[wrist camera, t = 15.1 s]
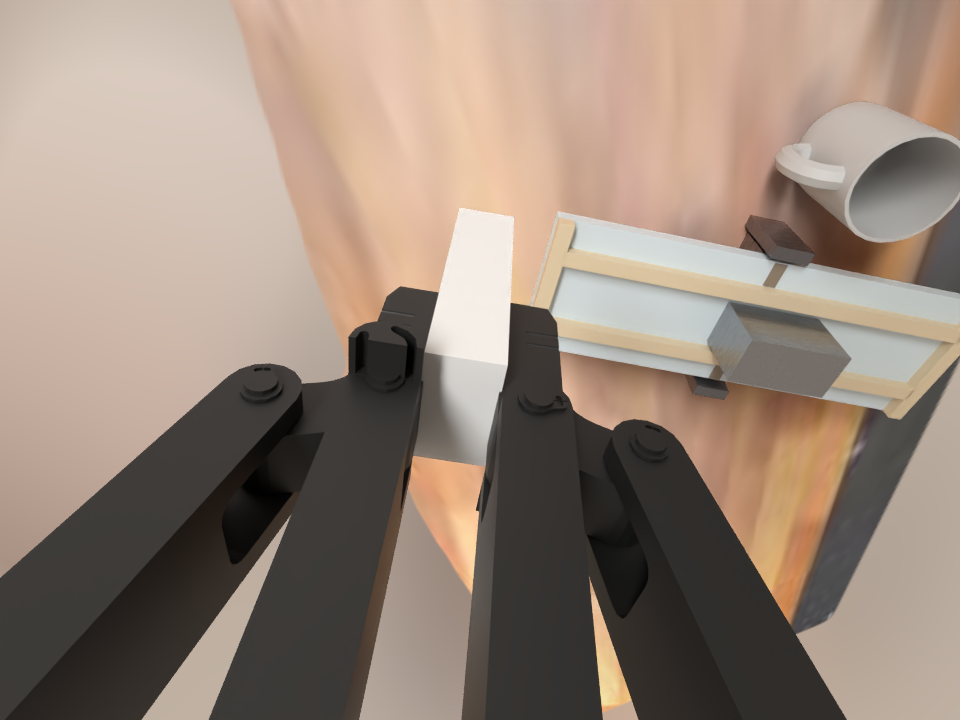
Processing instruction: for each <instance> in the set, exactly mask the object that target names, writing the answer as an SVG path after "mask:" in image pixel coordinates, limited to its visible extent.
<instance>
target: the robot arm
mask: <svg viewBox="0 0 960 720" xmlns="http://www.w3.org/2000/svg"><path fill="white" fill-rule="evenodd" d="M513 228H514V217H511V216H505V215H499V214H494V213H488V212H482V211H476V210H470V209H464V208H460V209H459V213H458V217H457V221H456V225H455V229H454V233H453V237H452V241H451V245H450V250H449V254H448V258H447V262H446V266H445V270H444V274H443V278H442V282H441V286H440V290H439V293H437V292H431V291H425V290H419V289H413V288H407V287H401V286H400V287H399V288H397V289H396V290H395V291H394V292H392V293H391V294H390V295H388V296H387V298H386V300H385V303H384V306H383V308H382V312H381V313H380V316H379V319H378V321H376V322H371V323H366V324H364V325H362V326H360V327H358V328H356V329H355V330H354V331H353V332H352V333H351V334H350V336H349V373H348V375H347V376H345V377H343V378H340V379H337V380H334V381H328V382H320V383H306V384H301V379H300V378H299V377H298V375H297V374H296V373H295V372H294V371H292V370H290V369H288V368H287V367H284V366H280V365H275V364H255V365H251V366H248V367H245V368H242V369H239V370H238V371H236V372H234V373H233V374H231V375H230V376H228V377H227V378H226V379H225V380H224V381H222V382H221V383H220V384H219V385H218V386H217V387H216V388H215V389H213V390H212V391H211V392H210V393H209V394H208V395H207V396H205V397H204V398H203V399H202V400H201V401H200V402H199V403H198V404H197V405H195V406H194V407H193V408H192V409H191V410H190V411H189V412H187V414H185V415H184V416H183V417H182V418H181V419H179V420H178V421H177V422H176V423H175V424H174V425H173V426H172V427H170V428H169V429H168V430H167V431H166V432H165V433H164V434H163V435H161V436H160V437H159V438H158V439H157V440H156V441H155V442H153V443H152V444H151V445H150V446H149V447H148V448H147V449H146V450H144V451H143V452H142V453H141V454H140V455H139V456H138V457H136V459H134V460H133V461H132V462H131V463H130V464H129V465H127V466H126V467H125V468H124V469H123V470H122V471H121V472H120V473H119V474H117V475H116V476H115V477H114V478H113V479H112V480H110V481H109V482H108V483H107V484H106V485H105V486H104V487H103V488H101V489H100V490H99V491H98V492H97V493H96V494H95V495H94V496H92V497H91V498H90V499H89V500H88V501H87V502H86V503H85V504H83V505H82V506H81V507H80V508H79V509H78V510H77V511H75V512H74V513H73V514H72V515H71V516H70V517H69V518H68V519H66V520H65V521H64V522H63V523H62V524H61V525H60V526H59V527H57V528H56V529H55V530H54V531H53V532H52V533H51V534H50V535H48V536H47V537H46V538H45V539H44V540H43V541H42V542H40V543H39V544H38V545H37V546H36V547H35V548H34V549H33V550H31V551H30V552H29V553H28V554H27V555H26V556H25V557H23V558H22V559H21V560H20V561H19V562H18V563H17V564H16V565H14V566H13V567H12V568H11V569H10V570H9V571H8V572H7V573H5V574H4V575H3V576H2V577H1V578H0V720H142V718H143V717H144V715H145V714H146V713H147V711H148V710H149V709H150V707H151V706H152V704H153V703H154V702H155V700H156V699H157V697H158V696H159V695H160V693H161V692H162V691H163V689H164V688H165V686H166V685H167V684H168V683H169V681H170V680H171V678H172V677H173V676H174V674H175V673H176V672H177V670H178V669H179V667H180V666H181V665H182V663H183V662H184V661H185V659H186V658H187V656H188V655H189V653H190V652H191V651H192V650H193V648H194V647H195V645H196V644H197V643H198V641H199V640H200V639H201V637H202V636H203V634H204V633H205V632H206V630H207V629H208V628H209V626H210V625H211V623H212V622H213V621H214V619H215V618H216V616H217V615H218V614H219V612H220V611H221V610H222V608H223V607H224V606H225V604H226V603H227V602H228V600H229V599H230V597H231V596H232V594H233V593H234V592H235V591H236V589H237V588H238V586H239V585H240V583H241V582H242V581H243V580H244V578H245V577H246V575H247V574H248V573H249V571H250V570H251V569H252V567H253V566H254V565H255V563H256V562H257V560H258V559H259V557H260V556H261V555H262V554H263V552H264V550H265V549H266V548H267V547H268V545H269V544H270V543H271V541H272V540H273V538H274V537H275V536H276V534H277V533H278V532H279V530H280V529H281V527H282V526H283V525H284V523H285V522H286V521H287V519H288V518H289V516H290V515H291V517H290V519H289V522H288V524H287V527H286V529H285V532H284V534H283V537H282V540H281V542H280V544H279V547H278V549H277V552H276V554H275V557H274V559H273V562H272V564H271V567H270V569H269V572H268V574H267V576H266V579H265V581H264V584H263V587H262V589H261V592H260V594H259V596H258V599H257V601H256V604H255V606H254V609H253V611H252V614H251V616H250V619H249V621H248V624H247V626H246V629H245V631H244V634H243V636H242V639H241V641H240V643H239V646H238V649H237V651H236V653H235V656H234V658H233V661H232V663H231V666H230V668H229V671H228V673H227V676H226V678H225V681H224V683H223V686H222V688H221V690H220V693H219V696H218V698H217V700H216V703H215V706H214V708H213V710H212V713H211V715H210V718H209V720H359V717H360V712H361V708H362V703H363V698H364V693H365V689H366V683H367V679H368V674H369V669H370V665H371V660H372V655H373V650H374V646H375V641H376V636H377V632H378V627H379V622H380V617H381V612H382V607H383V602H384V599H385V594H386V588H387V584H388V580H389V575H390V570H391V565H392V561H393V556H394V551H395V546H396V542H397V537H398V532H399V527H400V522H401V518H402V513H403V508H404V503H405V499H406V494H407V489H408V485H409V480H410V474H411V465H412V458H413V456H419V457H426V458H433V459H439V460H446V461H452V462H459V463H466V464H472V465H479V466H484V465H485V461H486V468H485V473H484V478H483V482H482V486H481V490H480V495H479V499H478V503H477V507H476V511H479V520H478V532H477V544H476V555H475V567H474V579H473V591H472V604H471V616H470V627H469V639H468V651H467V662H466V663H467V664H466V674H465V686H464V698H463V709H462V720H603V717H602V707H601V696H600V686H599V675H598V665H597V655H596V644H595V634H594V624H593V613H592V603H591V593H590V582H589V577H590V580H591V583H592V586H593V588H594V591H595V594H596V597H597V600H598V603H599V606H600V609H601V612H602V615H603V618H604V620H605V623H606V626H607V629H608V632H609V635H610V638H611V641H612V644H613V647H614V650H615V652H616V655H617V658H618V661H619V664H620V667H621V670H622V673H623V676H624V679H625V682H626V684H627V687H628V690H629V693H630V696H631V699H632V702H633V705H634V708H635V711H636V713H637V716H638V719H639V720H847V719H846V718H845V716H844V714H843V713H842V711H841V709H840V708H839V706H838V705H837V703H836V701H835V699H834V698H833V696H832V694H831V693H830V691H829V689H828V688H827V686H826V684H825V683H824V681H823V679H822V678H821V676H820V674H819V673H818V671H817V669H816V668H815V666H814V664H813V663H812V661H811V659H810V658H809V656H808V654H807V653H806V651H805V649H804V648H803V646H802V644H801V643H800V641H799V639H798V638H797V636H796V634H795V633H794V631H793V629H792V628H791V626H790V624H789V623H788V621H787V619H786V618H785V616H784V614H783V613H782V611H781V609H780V608H779V606H778V604H777V603H776V601H775V599H774V598H773V596H772V594H771V593H770V591H769V589H768V588H767V586H766V584H765V583H764V581H763V579H762V578H761V576H760V574H759V573H758V571H757V569H756V568H755V566H754V564H753V563H752V561H751V559H750V558H749V556H748V554H747V553H746V551H745V549H744V548H743V546H742V544H741V543H740V541H739V539H738V538H737V536H736V534H735V533H734V531H733V529H732V528H731V526H730V524H729V523H728V521H727V519H726V518H725V516H724V514H723V513H722V511H721V509H720V508H719V506H718V504H717V503H716V501H715V499H714V498H713V496H712V494H711V493H710V491H709V489H708V488H707V486H706V484H705V483H704V481H703V479H702V478H701V476H700V474H699V473H698V471H697V469H696V468H695V466H694V464H693V463H692V461H691V459H690V458H689V456H688V454H687V453H686V451H685V449H684V448H683V446H682V444H681V443H680V442H679V441H678V440H677V439H676V437H675V436H674V435H673V434H672V433H670V432H669V431H667V430H666V429H664V428H663V427H661V426H659V425H656V424H654V423H651V422H649V421H644V420H636V419H633V420H628V421H623V422H621V423H620V424H619V425H617V426H616V427H615V428H614V430H613V431H612V430H610V429H607V428H605V427H602V426H600V425H597V424H595V423H593V422H591V421H589V420H587V419H585V418H583V417H582V416H580V415H579V414H577V413H576V412H575V411H574V410H573V407H572V404H571V402H570V399H569V397H568V396H567V395H566V394H565V393H564V392H563V389H562V377H561V365H560V353H559V341H558V328H557V322H556V320H555V319H554V318H553V316H552V315H551V313H550V312H549V310H548V309H544V308H538V307H532V306H526V305H520V304H514V303H510V300H511V276H512V252H513Z"/></svg>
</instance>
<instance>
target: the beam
mask: <svg viewBox="0 0 960 720" xmlns="http://www.w3.org/2000/svg"><path fill="white" fill-rule="evenodd" d="M728 302H734V303H739V304H744V305H749V306H754V307H759V308H764V309H769V310H774V311H779V312H784V313H790V314H795V315H800V316H805V317H810V318H815V319H819V320H820V321H821V322H822V324H823V325H824V326H825V327H826V328H827V330H828V331H829V332H830V333H831V335H832V336H833V337H834V338H835V339H836V341H837V342H838V343H839V344H840V345H841V347H842V348H843V349H844V350H845V351H846V353H847V354H848V355H849V356H850V357H851V359H852V360H851V361H850V362H849V364H848V365H847V366H846V367H845V369H844V370H843V371H842V373H841V374H840V375H839V376H838V378H837V379H836V380H835V382H834V383H833V384H832V385H831V387H830V388H829V389H828V391H827V392H826V393H825V395H824V396H823V397H822V398H819V397H814V398H819V399H825V400H830V401H836V402H841V403H847V404H852V405H858V406H863V407H869V408H874V409H879V410H883V411H884V413H885V414H886V415H887V416H888V417H889V418H894V419H901V418H902V417H903V416H904V415H905V414H906V413H907V412H908V411H909V410H910V409H911V407H912V406H913V405H914V404H915V403H916V402H917V401H918V400H919V399H920V398H921V397H922V395H923V394H924V393H925V392H926V391H927V390H928V389H929V388H930V387H931V386H932V385H933V384H934V382H935V381H936V380H937V379H938V378H939V377H940V376H941V375H942V374H943V373H944V372H945V370H946V369H947V368H948V367H949V366H950V365H951V364H952V363H953V362H954V361H955V360H956V359H957V357H958V356H959V355H960V294H959V293H954V292H949V291H944V290H939V289H935V288H930V287H925V286H920V285H915V284H910V283H905V282H900V281H896V280H891V279H886V278H881V277H876V276H871V275H866V274H861V273H857V272H852V271H847V270H842V269H837V268H832V267H827V266H822V265H818V264H813V263H809V265H808V266H806V265H801V264H797V263H792V262H787V261H782V260H778V259H773V258H770V256H769V255H768V254H764V253H759V252H754V251H749V250H744V249H740V248H735V247H730V246H725V245H720V244H715V243H710V242H705V241H700V240H696V239H691V238H686V237H681V236H676V235H671V234H666V233H661V232H657V231H652V230H647V229H642V228H637V227H632V226H627V225H622V224H618V223H613V222H608V221H603V220H598V219H593V218H588V217H583V216H579V215H574V214H569V213H564V212H559V211H558V212H557V215H556V218H555V222H554V225H553V229H552V232H551V235H550V239H549V242H548V246H547V249H546V252H545V256H544V259H543V263H542V266H541V270H540V273H539V276H538V280H537V283H536V287H535V290H534V293H533V297H532V300H531V304H530V306H532V307H538V308H544V309H548V310H549V312H550V313H551V315H552V316H553V318H554V319H555V320H556V322H557V328H558V341H559V351H562V352H568V353H573V354H579V355H584V356H590V357H595V358H601V359H606V360H612V361H617V362H623V363H628V364H633V365H639V366H644V367H650V368H655V369H661V370H666V371H672V372H677V373H683V374H688V375H694V376H699V377H705V378H710V379H715V380H721V381H726V382H732V381H727V379H726V377H725V375H724V373H723V371H722V369H721V367H720V365H719V363H718V361H717V359H716V357H715V355H714V353H713V351H712V349H711V347H710V345H709V343H708V341H707V339H708V338H709V336H710V334H711V332H712V330H713V329H714V327H715V325H716V323H717V321H718V320H719V318H720V316H721V314H722V312H723V311H724V309H725V307H726V305H727V303H728ZM732 383H737V382H732ZM737 384H743V383H737ZM743 385H748V384H743ZM748 386H754V385H748ZM754 387H759V386H754ZM759 388H765V387H759ZM765 389H770V388H765ZM770 390H775V389H770ZM776 391H781V390H776ZM781 392H786V391H781ZM787 393H792V392H787ZM792 394H797V393H792ZM797 395H803V394H797ZM803 396H808V395H803ZM808 397H813V396H808Z"/></svg>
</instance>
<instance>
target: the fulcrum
mask: <svg viewBox="0 0 960 720" xmlns="http://www.w3.org/2000/svg"><path fill="white" fill-rule="evenodd" d="M745 227H746V228H747V229H748V231H749V232H750V233H747V235H746V236H745V238H744V240H743V242H742V244H741V246H740V249H744V250H749V251H754V252H759V253H764V254H768V255H769V256H770V258H773V259H778V260H782V261H787V262H792V263H797V264H801V265H806V266H808V265H809V263H810V262H811V260H812V258H813V257H814V255H815V254H814V252H813V251H812V250H811V249H810V248H809V247H808V246H807V245H806V244H805V243H804V242H803V241H802V240H801V239H800V238H799V237H798V236H797V235H796V234H795V233H794V232H793V231H792V230H791V229H790V228H789V227H788V226H787V225H786V224H785V223H784V222H781V221H776V220H771V219H767V218H762V217H758V216H753V215H750V217H749V219H748V221H747V223H746V225H745ZM685 375H686V378H687V380H688V383H689V386H690V388H691V391H692V393H693V394H696V395H701V396H706V397H711V398H717V399H722V400H724V399H725V397H726V396H727V394H728V392H729V391H728V389H727V387H726V385H725V383H724V381H721V380H715V379H710V378H705V377H699V376H694V375H688V374H685Z"/></svg>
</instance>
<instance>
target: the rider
mask: <svg viewBox="0 0 960 720" xmlns="http://www.w3.org/2000/svg"><path fill="white" fill-rule="evenodd" d="M707 341H708V343H709V345H710V347H711V349H712V351H713V353H714V355H715V357H716V359H717V361H718V363H719V365H720V367H721V369H722V371H723V373H724V375H725V377H726V379H727V381H732V382H737V383H743V384H748V385H754V386H759V387H765V388H770V389H775V390H781V391H786V392H792V393H797V394H803V395H808V396H813V397H819V398H822V397H823V396H824V395H825V393H826V392H827V391H828V389H829V388H830V387H831V385H832V384H833V383H834V382H835V380H836V379H837V378H838V376H839V375H840V374H841V373H842V371H843V370H844V369H845V367H846V366H847V365H848V364H849V362H850V361H851V360H852V359H851V357H850V356H849V355H848V354H847V353H846V351H845V350H844V349H843V348H842V347H841V345H840V344H839V343H838V342H837V341H836V339H835V338H834V337H833V336H832V335H831V333H830V332H829V331H828V330H827V328H826V327H825V326H824V325H823V324H822V322H821V321H820V320H819V319H815V318H810V317H805V316H800V315H795V314H790V313H784V312H779V311H774V310H769V309H764V308H759V307H754V306H749V305H744V304H739V303H734V302H728V303H727V305H726V307H725V309H724V311H723V312H722V314H721V316H720V318H719V320H718V321H717V323H716V325H715V327H714V329H713V330H712V332H711V334H710V336H709V338H708V339H707Z"/></svg>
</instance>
